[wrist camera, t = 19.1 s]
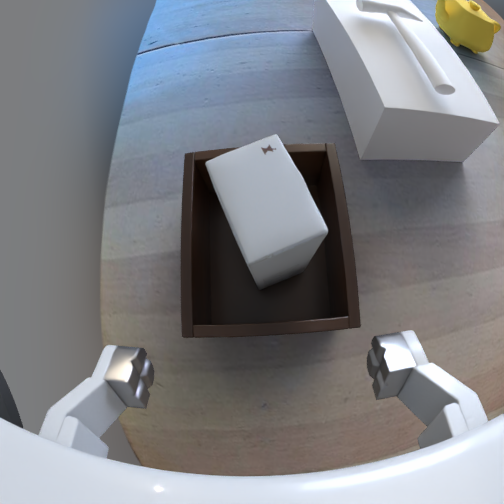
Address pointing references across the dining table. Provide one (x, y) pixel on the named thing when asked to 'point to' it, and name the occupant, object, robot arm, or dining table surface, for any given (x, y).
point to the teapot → (466, 24)
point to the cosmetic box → (268, 209)
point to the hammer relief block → (400, 82)
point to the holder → (238, 274)
